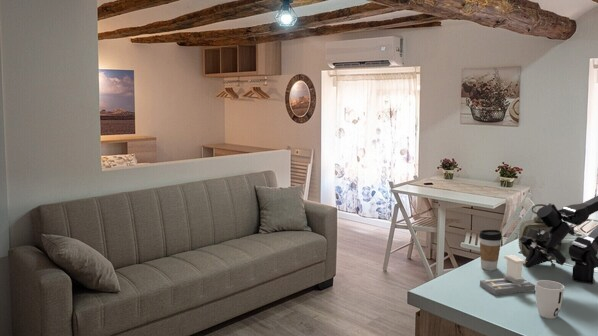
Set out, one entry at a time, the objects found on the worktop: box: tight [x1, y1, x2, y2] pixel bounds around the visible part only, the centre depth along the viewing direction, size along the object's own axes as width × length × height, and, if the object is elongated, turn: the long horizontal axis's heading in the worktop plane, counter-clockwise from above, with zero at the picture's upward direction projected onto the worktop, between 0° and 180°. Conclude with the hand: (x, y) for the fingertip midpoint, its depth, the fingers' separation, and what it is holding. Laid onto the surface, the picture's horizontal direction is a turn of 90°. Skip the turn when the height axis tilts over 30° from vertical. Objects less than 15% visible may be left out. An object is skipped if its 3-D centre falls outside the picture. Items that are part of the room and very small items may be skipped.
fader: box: [502, 254, 525, 283], centre depth 186 cm, size 4×7×8 cm, turn 14°
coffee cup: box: [478, 229, 503, 271], centre depth 207 cm, size 8×8×15 cm
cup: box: [534, 279, 565, 319], centre depth 164 cm, size 8×8×10 cm
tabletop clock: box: [518, 203, 562, 268], centre depth 209 cm, size 14×9×25 cm, turn 77°
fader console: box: [479, 276, 536, 296], centre depth 186 cm, size 16×9×3 cm, turn 104°
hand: (526, 267), depth 187 cm, fingers closed
